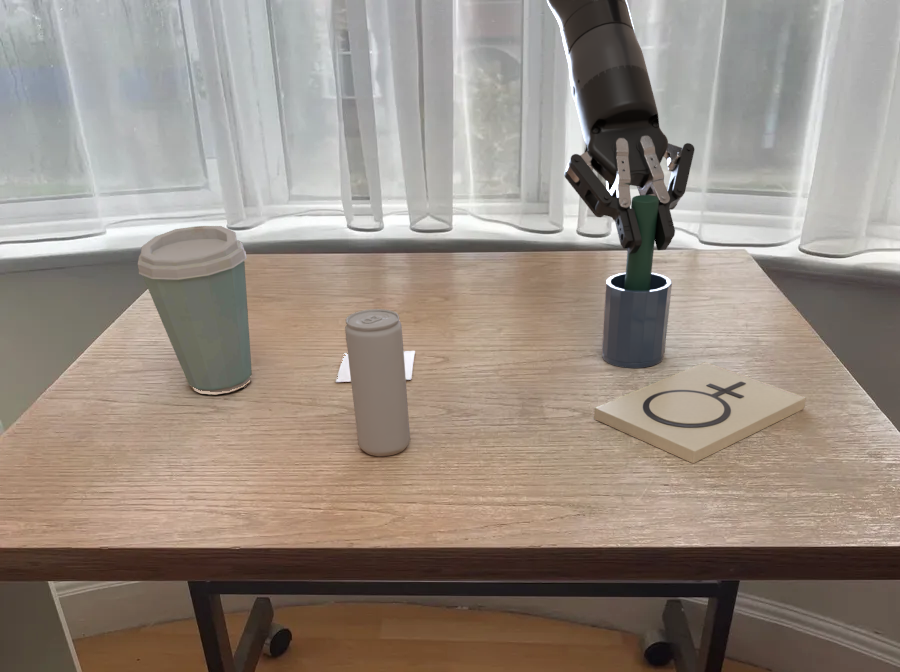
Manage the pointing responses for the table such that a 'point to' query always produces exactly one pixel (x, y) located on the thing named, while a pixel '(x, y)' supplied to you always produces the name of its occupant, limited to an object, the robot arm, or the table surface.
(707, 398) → the drawing board
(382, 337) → the beverage can
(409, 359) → the white piece
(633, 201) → the marker
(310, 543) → the table surface
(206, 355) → the disposable coffee cup
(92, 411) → the table surface
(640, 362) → the pen cup
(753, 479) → the table surface
